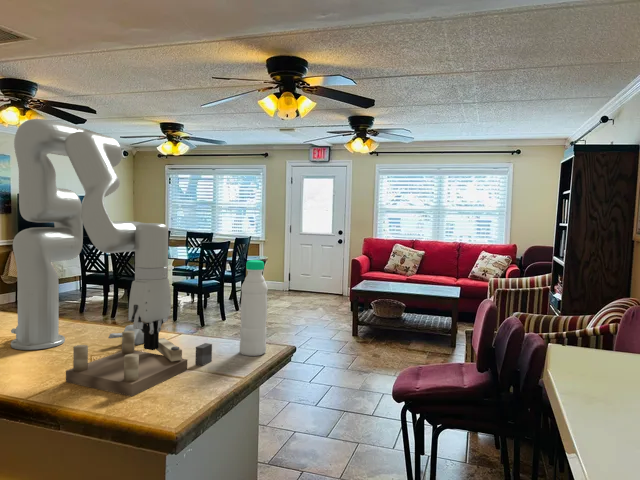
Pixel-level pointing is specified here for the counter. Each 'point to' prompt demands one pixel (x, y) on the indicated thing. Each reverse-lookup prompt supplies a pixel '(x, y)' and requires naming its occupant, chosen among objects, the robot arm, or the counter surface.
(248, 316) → the water bottle
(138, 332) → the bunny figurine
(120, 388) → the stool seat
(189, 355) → the counter surface
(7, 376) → the counter surface
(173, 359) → the hinged leg
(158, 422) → the counter surface
